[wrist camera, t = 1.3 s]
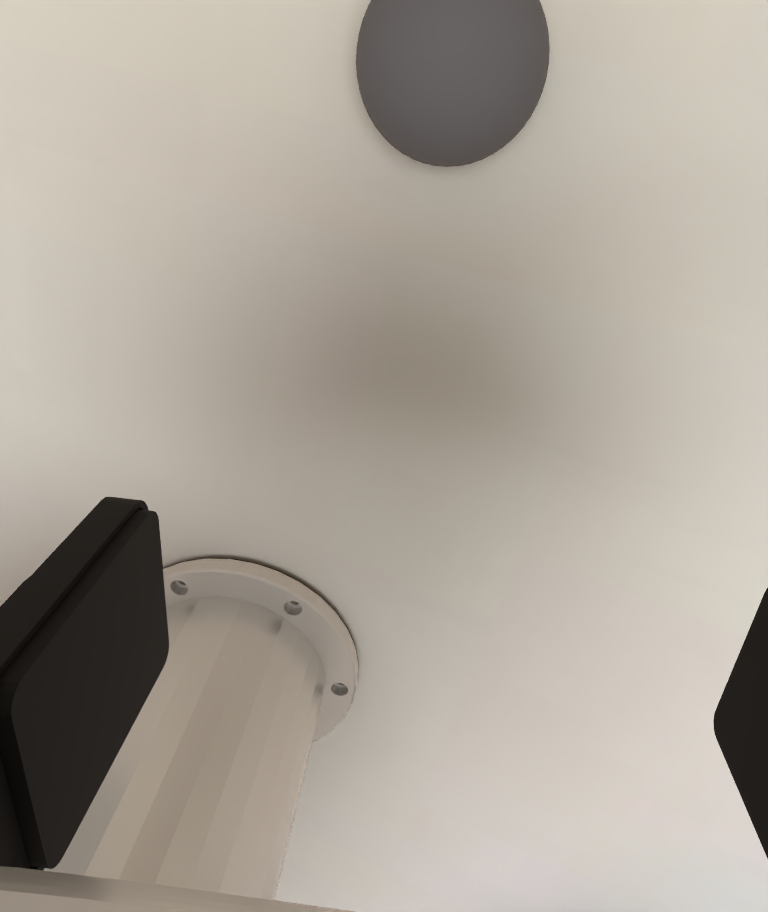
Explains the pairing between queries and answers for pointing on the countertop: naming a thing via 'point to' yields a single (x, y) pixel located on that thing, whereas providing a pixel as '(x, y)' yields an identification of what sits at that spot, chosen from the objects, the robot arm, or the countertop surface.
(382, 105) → the grey rubber ball
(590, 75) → the countertop surface
